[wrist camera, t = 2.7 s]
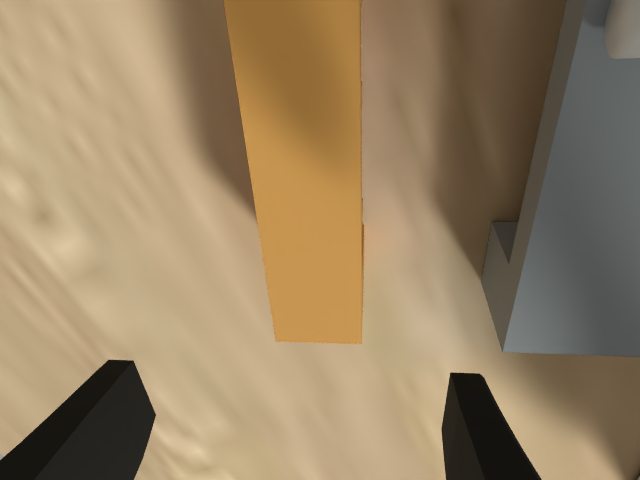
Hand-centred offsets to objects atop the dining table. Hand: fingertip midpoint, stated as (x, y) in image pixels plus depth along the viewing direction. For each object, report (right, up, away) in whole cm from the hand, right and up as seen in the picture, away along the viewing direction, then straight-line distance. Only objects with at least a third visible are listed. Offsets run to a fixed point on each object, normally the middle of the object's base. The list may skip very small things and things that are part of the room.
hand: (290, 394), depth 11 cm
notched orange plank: (+1, +8, +6) cm, 10 cm away
